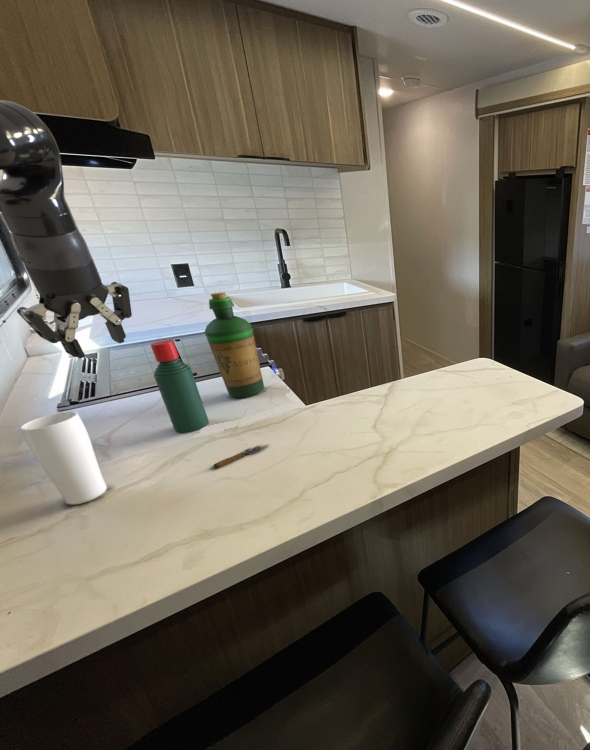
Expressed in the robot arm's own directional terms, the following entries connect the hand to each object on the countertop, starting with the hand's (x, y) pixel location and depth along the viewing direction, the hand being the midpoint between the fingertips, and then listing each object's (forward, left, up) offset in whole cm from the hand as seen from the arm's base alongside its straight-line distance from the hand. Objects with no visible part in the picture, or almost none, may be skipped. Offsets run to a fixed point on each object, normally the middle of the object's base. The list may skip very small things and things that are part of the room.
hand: (99, 348), depth 71 cm
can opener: (+15, -9, -25) cm, 30 cm away
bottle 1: (+6, +15, -24) cm, 29 cm away
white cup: (-8, -7, -24) cm, 26 cm away
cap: (+6, +15, -7) cm, 18 cm away
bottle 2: (+18, +31, -24) cm, 44 cm away
